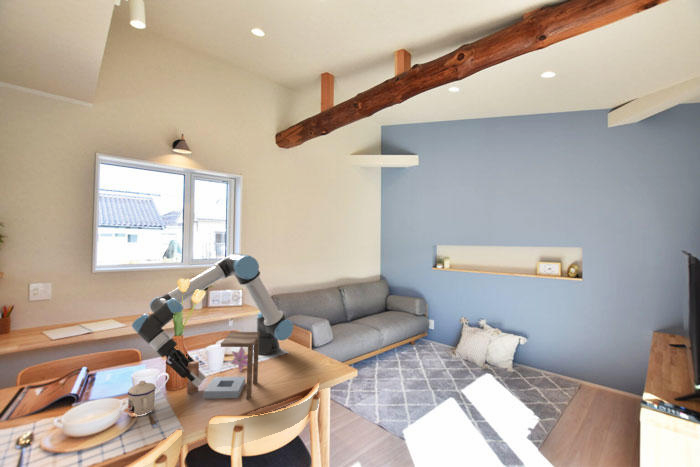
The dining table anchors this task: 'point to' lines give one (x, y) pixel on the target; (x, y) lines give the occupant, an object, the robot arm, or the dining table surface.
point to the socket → (224, 387)
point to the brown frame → (248, 341)
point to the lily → (240, 358)
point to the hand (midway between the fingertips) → (201, 382)
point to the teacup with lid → (141, 398)
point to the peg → (195, 369)
